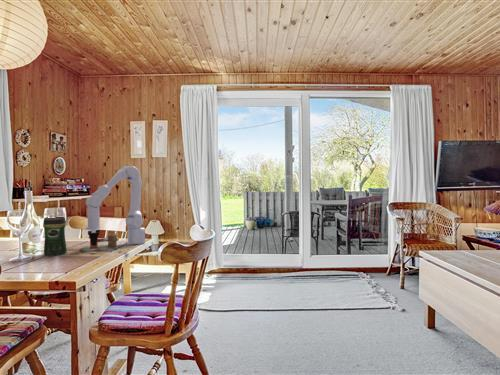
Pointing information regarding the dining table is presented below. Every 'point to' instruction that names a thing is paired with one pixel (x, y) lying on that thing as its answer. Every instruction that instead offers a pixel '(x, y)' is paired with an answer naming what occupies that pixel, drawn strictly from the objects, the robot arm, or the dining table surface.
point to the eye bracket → (111, 245)
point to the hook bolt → (100, 241)
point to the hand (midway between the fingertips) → (93, 244)
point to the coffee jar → (54, 236)
